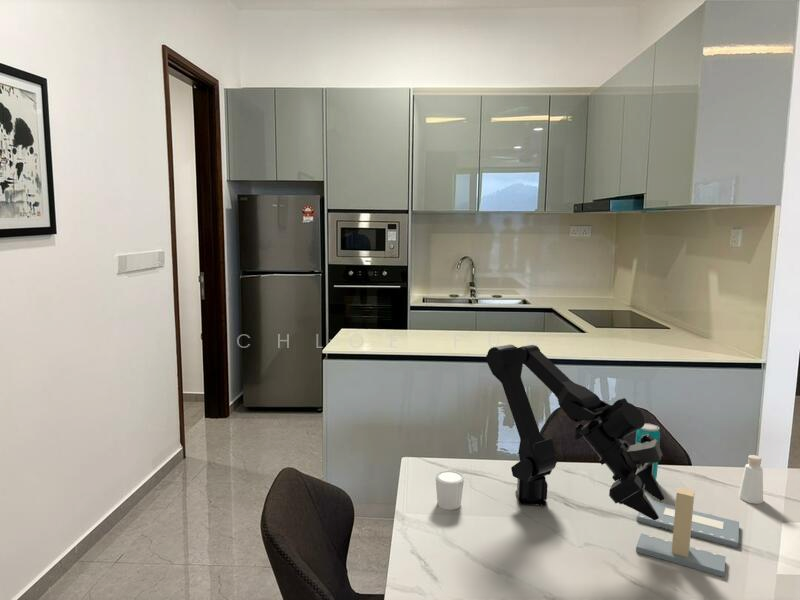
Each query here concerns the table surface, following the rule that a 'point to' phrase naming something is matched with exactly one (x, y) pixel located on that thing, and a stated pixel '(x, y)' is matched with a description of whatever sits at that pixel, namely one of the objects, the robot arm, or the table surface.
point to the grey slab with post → (682, 541)
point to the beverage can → (653, 432)
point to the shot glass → (449, 489)
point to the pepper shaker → (752, 481)
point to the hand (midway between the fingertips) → (660, 509)
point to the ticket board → (696, 524)
